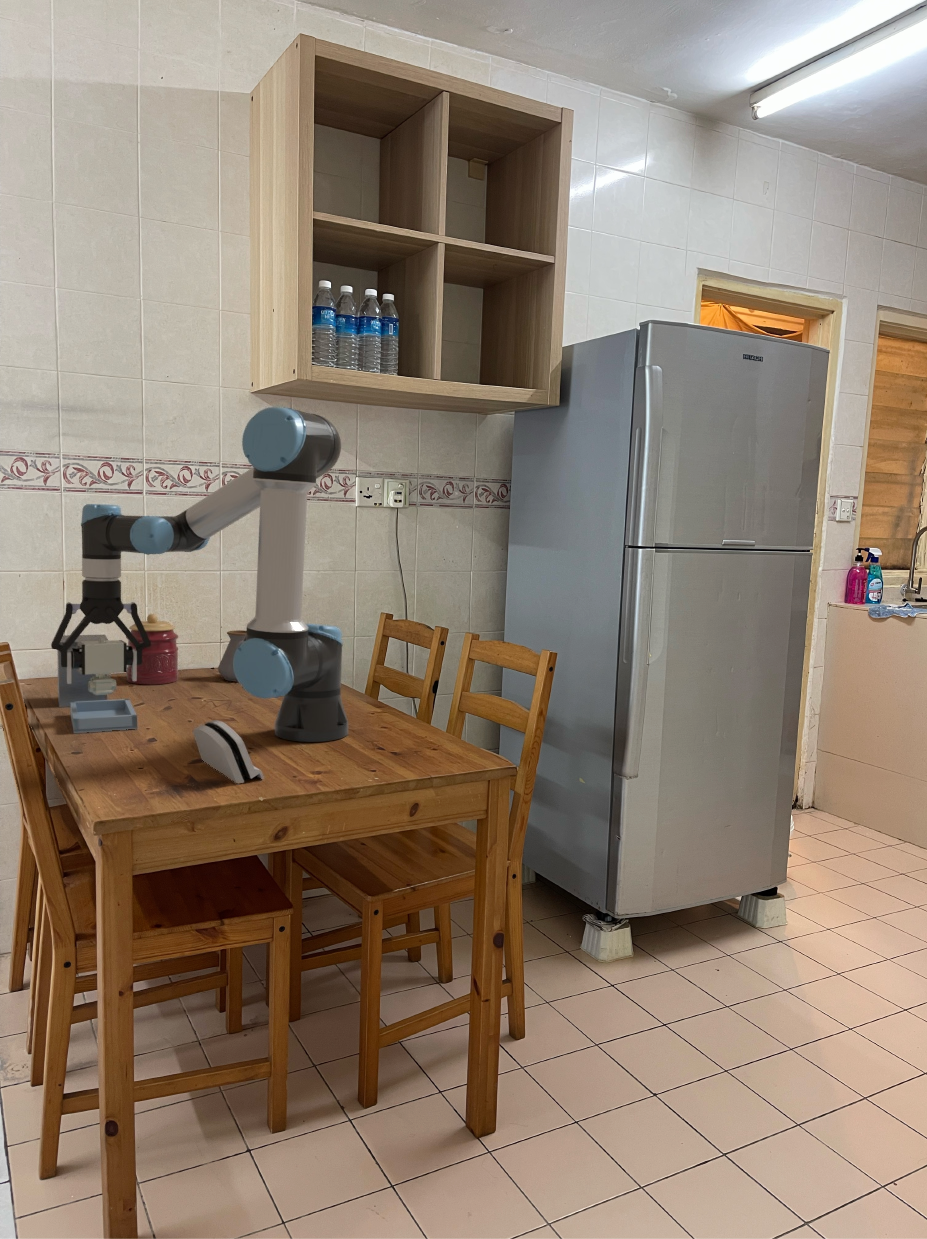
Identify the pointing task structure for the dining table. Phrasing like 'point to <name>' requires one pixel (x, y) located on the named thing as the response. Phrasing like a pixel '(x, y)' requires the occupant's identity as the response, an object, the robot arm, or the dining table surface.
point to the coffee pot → (231, 654)
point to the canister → (156, 653)
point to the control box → (76, 678)
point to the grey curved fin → (225, 751)
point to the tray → (102, 715)
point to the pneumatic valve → (101, 662)
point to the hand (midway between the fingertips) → (102, 681)
